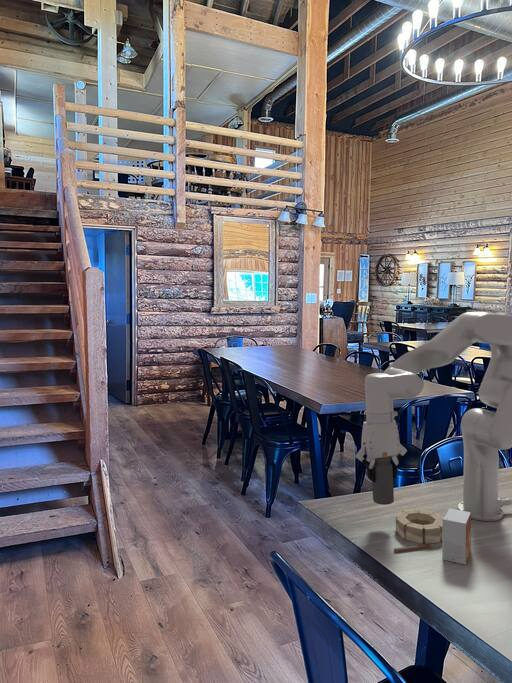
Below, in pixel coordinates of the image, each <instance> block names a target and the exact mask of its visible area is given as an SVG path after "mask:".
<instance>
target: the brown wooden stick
mask: <svg viewBox="0 0 512 683" xmlns="http://www.w3.org/2000/svg"><path fill="white" fill-rule="evenodd" d="M431 546H432V545H431V543H430V544H425V543H423V544H418V545H417V544H416V545H410V546H405V547H403V546H401V547H395V548H393V552H394V553H397V554H398V553H403V552H411V551H417V550H419V551H420V550H423V549H431Z"/></svg>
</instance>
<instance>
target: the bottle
mask: <svg viewBox="0 0 512 683" xmlns="http://www.w3.org/2000/svg"><path fill="white" fill-rule="evenodd" d="M387 453H388V452H384V453H382V456H383V457H381V458H376V459H375V462H374V465H373V468H374V469H375V480H376V481H375V482H372V481H371V487H372V488H371V489H372V501H373V503H375V504H378V505H382V506H383V505H385V506H386V505H391V504H393V503H394V500H395V498H394V478H393V467H392V464H391V463H389V462H390V460H391V456H390V457H387Z"/></svg>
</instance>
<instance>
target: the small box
mask: <svg viewBox="0 0 512 683" xmlns="http://www.w3.org/2000/svg"><path fill="white" fill-rule="evenodd" d="M471 534H472V519H471V512H467V511H461V510H458V509H454V508H450V507H449V508H448V509H447V512H446V513H445V515H444V517H443V524H442V541H441V543H442V544H441V546H442V547H441V548H442V549H441V550H442V553H441V554H442V555H441V557H442V558H441V560H443V561H449V562H453V563H456V564H461V565H465V566H466V564H467V560H468V558H469V556H470V554H471V543H472V541H471V540H472V539H471V538H472V535H471Z"/></svg>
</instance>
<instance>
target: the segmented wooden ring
mask: <svg viewBox="0 0 512 683" xmlns="http://www.w3.org/2000/svg"><path fill="white" fill-rule="evenodd" d="M443 518H444V517H443V516H442V515H440V514H438V513H437V512H434V511H430V510H428V509H427V510H426V509H421V508H418V509H416V508H412V509H411V508H410V509H402V510H401V511H399V512H398V513H397V515H396V516H395V532H396V533H397V535H399V536H400V538H402V539H405V540H406V541H409V542H413V543H418V544H420V545H423V544H430V545H431V544H435V543H440V542H442V524H443Z"/></svg>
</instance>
